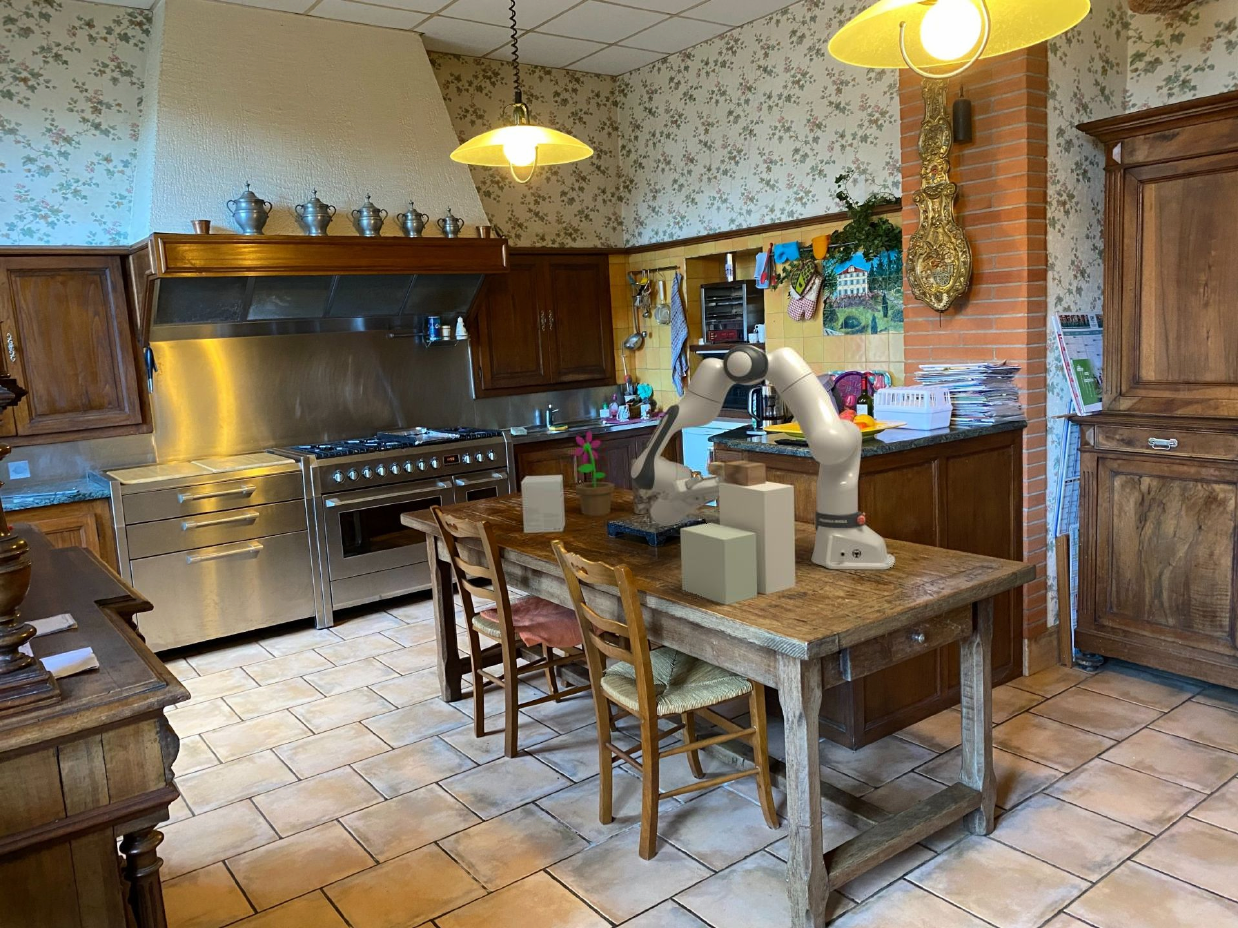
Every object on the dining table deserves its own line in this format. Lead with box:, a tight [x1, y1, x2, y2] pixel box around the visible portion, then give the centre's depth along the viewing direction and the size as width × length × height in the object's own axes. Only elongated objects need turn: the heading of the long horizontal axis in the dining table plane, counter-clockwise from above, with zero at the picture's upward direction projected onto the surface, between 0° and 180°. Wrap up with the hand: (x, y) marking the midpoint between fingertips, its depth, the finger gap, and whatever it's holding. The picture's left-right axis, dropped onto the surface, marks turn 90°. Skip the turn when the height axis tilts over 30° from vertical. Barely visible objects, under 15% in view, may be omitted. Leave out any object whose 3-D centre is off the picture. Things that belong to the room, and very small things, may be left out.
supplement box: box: [520, 474, 566, 534], centre depth 312 cm, size 13×13×18 cm
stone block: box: [630, 455, 669, 515], centre depth 332 cm, size 13×7×20 cm, turn 118°
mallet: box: [707, 460, 767, 486], centre depth 239 cm, size 18×6×5 cm, turn 34°
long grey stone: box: [686, 506, 720, 525], centre depth 317 cm, size 35×5×10 cm
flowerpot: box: [572, 430, 615, 517], centre depth 334 cm, size 14×14×30 cm
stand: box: [680, 480, 796, 606], centre depth 231 cm, size 17×23×26 cm
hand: (714, 475), depth 246 cm, fingers open, 8 cm apart
